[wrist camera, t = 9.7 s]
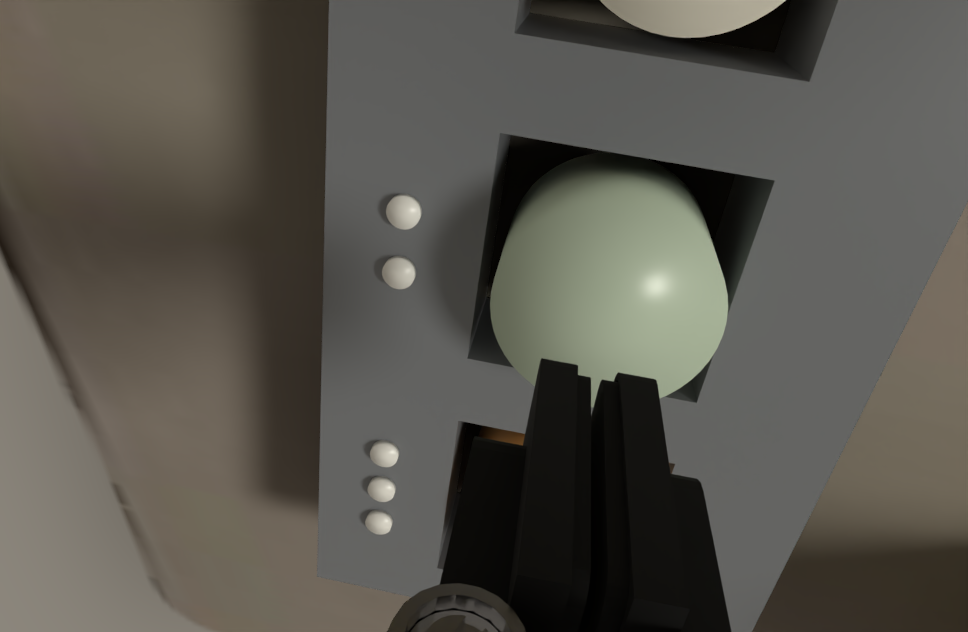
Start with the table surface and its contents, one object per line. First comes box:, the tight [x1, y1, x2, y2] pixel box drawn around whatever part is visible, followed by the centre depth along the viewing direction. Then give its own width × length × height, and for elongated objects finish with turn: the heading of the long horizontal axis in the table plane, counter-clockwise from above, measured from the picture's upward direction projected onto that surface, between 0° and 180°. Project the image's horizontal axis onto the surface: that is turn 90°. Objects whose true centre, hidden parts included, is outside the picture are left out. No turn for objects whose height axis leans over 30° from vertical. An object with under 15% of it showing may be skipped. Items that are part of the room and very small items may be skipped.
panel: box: [317, 0, 968, 632], centre depth 16 cm, size 22×12×3 cm, turn 172°
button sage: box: [490, 153, 728, 407], centre depth 15 cm, size 4×4×3 cm
